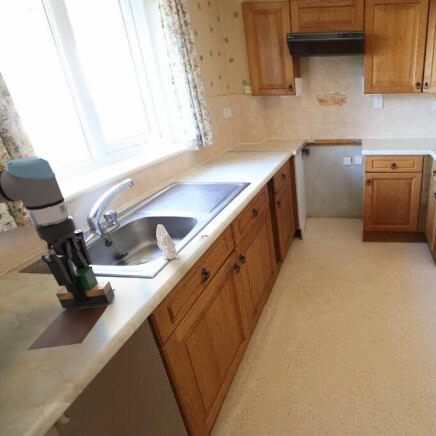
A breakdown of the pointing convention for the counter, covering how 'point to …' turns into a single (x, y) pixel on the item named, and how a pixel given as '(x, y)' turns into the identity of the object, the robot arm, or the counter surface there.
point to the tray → (69, 327)
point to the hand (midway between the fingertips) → (86, 296)
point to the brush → (87, 290)
